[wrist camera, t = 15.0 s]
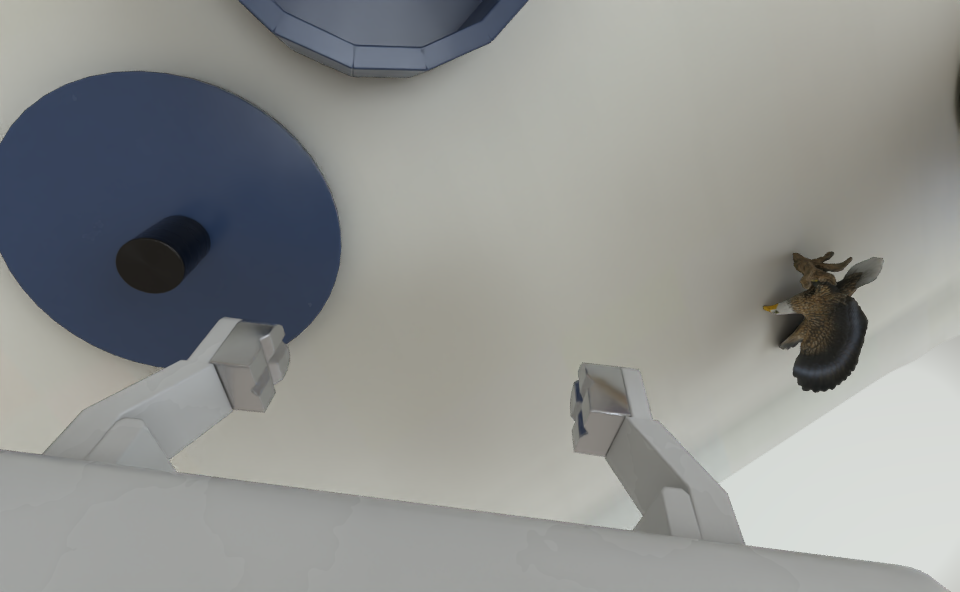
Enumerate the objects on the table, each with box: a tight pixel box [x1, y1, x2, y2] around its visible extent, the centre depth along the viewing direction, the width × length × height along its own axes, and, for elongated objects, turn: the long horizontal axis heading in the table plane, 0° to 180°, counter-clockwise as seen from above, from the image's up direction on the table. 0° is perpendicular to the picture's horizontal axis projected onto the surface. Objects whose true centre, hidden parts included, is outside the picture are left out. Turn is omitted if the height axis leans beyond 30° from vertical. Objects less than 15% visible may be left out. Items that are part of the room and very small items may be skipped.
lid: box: [0, 71, 341, 368], centre depth 21 cm, size 15×15×5 cm
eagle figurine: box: [763, 251, 884, 393], centre depth 33 cm, size 8×7×9 cm
